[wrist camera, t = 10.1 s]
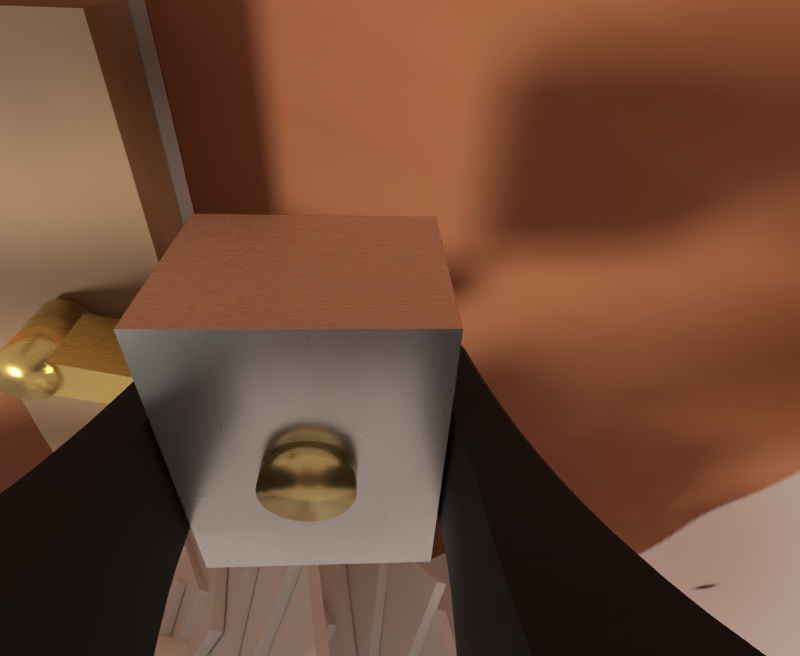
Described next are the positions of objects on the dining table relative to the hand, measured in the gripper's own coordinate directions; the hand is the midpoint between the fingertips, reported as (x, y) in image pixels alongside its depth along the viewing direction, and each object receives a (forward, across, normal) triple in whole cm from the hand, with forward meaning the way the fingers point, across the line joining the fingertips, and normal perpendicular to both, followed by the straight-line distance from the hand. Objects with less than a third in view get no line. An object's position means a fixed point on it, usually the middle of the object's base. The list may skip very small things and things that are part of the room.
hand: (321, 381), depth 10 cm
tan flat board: (+8, +8, +2) cm, 11 cm away
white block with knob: (+1, 0, 0) cm, 1 cm away
